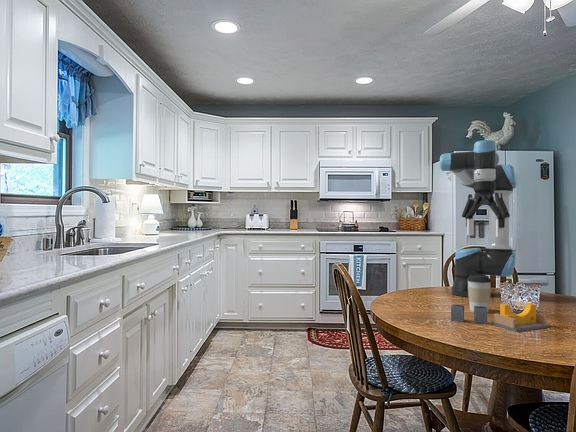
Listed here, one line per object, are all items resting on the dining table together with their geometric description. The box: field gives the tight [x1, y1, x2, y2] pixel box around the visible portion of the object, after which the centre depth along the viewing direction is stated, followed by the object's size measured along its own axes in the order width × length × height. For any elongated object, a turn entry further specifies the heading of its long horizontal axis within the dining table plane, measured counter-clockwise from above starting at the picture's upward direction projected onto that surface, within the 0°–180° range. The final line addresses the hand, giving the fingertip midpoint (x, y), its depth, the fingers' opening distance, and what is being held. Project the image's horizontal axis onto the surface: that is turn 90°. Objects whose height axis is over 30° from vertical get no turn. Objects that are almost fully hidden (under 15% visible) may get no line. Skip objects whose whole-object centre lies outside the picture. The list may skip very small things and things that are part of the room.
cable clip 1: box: [450, 303, 465, 323], centre depth 146 cm, size 4×3×6 cm
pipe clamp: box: [499, 302, 537, 325], centre depth 139 cm, size 12×4×6 cm, turn 95°
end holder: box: [491, 312, 550, 332], centre depth 139 cm, size 16×10×4 cm, turn 110°
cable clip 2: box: [473, 306, 488, 325], centre depth 143 cm, size 4×3×6 cm
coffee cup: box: [467, 274, 492, 313], centre depth 161 cm, size 9×9×15 cm
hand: (484, 236), depth 149 cm, fingers open, 13 cm apart
